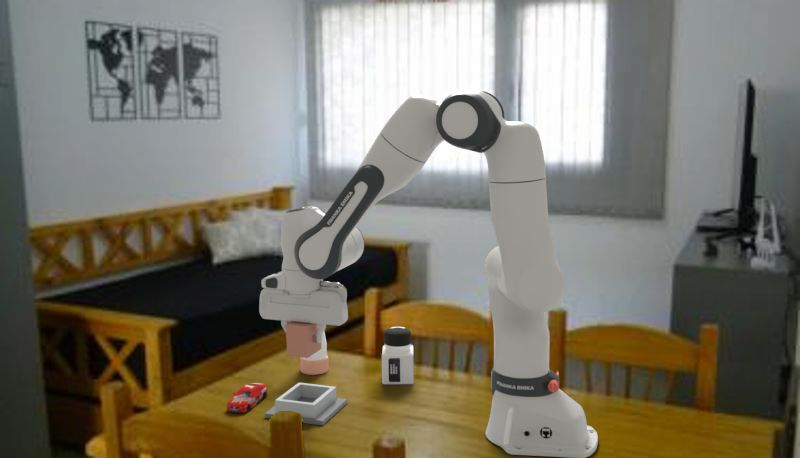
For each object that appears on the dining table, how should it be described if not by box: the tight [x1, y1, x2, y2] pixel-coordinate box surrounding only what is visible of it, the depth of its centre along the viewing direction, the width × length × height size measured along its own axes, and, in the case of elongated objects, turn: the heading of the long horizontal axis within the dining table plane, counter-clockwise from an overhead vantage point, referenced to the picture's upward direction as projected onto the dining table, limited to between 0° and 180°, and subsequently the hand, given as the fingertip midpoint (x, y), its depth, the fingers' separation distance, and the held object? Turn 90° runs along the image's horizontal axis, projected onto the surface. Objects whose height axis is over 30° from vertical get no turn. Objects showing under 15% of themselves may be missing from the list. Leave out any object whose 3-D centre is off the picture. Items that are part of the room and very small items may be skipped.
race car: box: [226, 382, 268, 414], centre depth 176 cm, size 13×5×4 cm, turn 162°
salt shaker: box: [299, 331, 329, 376], centre depth 196 cm, size 7×7×19 cm
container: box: [381, 326, 415, 385], centre depth 189 cm, size 8×8×13 cm
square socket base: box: [264, 382, 348, 426], centre depth 171 cm, size 14×13×4 cm
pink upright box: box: [285, 321, 321, 358], centre depth 169 cm, size 5×7×7 cm
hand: (304, 340), depth 169 cm, fingers closed on pink upright box, 5 cm apart
